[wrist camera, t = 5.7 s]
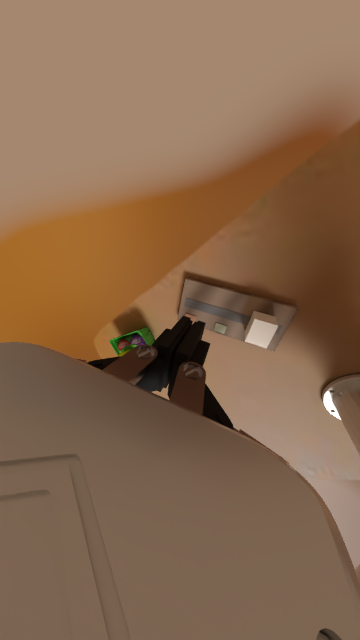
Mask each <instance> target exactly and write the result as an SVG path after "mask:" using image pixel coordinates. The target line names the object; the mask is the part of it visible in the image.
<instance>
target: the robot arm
mask: <svg viewBox="0 0 360 640" xmlns="http://www.w3.org/2000/svg"><path fill="white" fill-rule="evenodd" d="M192 323H193V321H192V320H191V318H189V317H186V316H182V317H181V319H180V320H179V321H178V322H177V323H176V325H175V326H174V327H173V328H172V329H171V330H170V329H165V331H164V332H163V333H162V334H161V335H160V336H159V337H158V338H157V339H156V340H155V342H154V343H153V344H152V345H151V346H150V345H146V344H144V345H138V346H136V347H134V348H133V349H131V350H130V351H128V352H127V353H126V354H124V355H123V356H120V357H113V358H107V359H100V360H94V361H90V362H88V363H87V361H86V360H81V359H76V358H72V357H70V356H68V355H65V354H63V353H61V352H58V351H55V350H53V349H50V348H47V347H44V346H40V345H36V344H30V343H21V342H6V343H0V640H360V565H358V566H357V567H356V568H355V569H354V566H353V564H352V561H351V558H350V556H349V553H348V551H347V548H346V546H345V543H344V541H343V538H342V536H341V533H340V531H339V529H338V527H337V524H336V522H335V520H334V518H333V516H332V514H331V512H330V510H329V509H328V507H327V505H326V504H325V502H324V501H323V499H322V498H321V497H320V495H319V494H318V493H317V491H316V490H315V489H314V488H313V487H312V486H311V485H310V483H308V481H307V480H306V479H305V478H304V477H303V476H302V475H301V474H300V473H298V472H297V471H296V470H295V469H294V468H293V467H291V466H290V465H289V463H288V462H287V461H285V460H284V459H283V458H282V457H280V456H279V455H278V454H276V453H275V452H273V451H272V450H270V449H269V448H267V447H266V446H264V445H263V444H261V443H260V442H259V441H257V440H256V439H254V438H253V437H251V436H250V435H248V434H247V433H245V432H244V431H242V430H241V429H240V430H239V431H238V430H237V429H235V428H234V427H233V424H232V423H231V421H230V419H229V417H228V416H227V415H226V413H225V412H224V410H223V409H222V407H221V406H220V404H219V403H218V401H217V400H216V398H215V397H214V395H213V394H212V392H211V391H210V389H209V388H208V387H207V385H206V384H205V380H206V372H205V370H204V368H203V364H204V362H205V359H206V356H207V352H208V349H209V346H210V343H208V342H205V341H202V340H201V339H202V335H203V331H204V328H205V324H206V323H205V322H202V321H199V320H198V322H194V323H193V325H192ZM168 384H169V386H168ZM167 386H168V389H169V390H168V397H169V399H170V401H169V400H167V399H165V398H163V397H161V396H158V395H156V394H154V393H152V391H156V390H157V391H159V392H161V390H162V389H163V387H164V388H166V387H167ZM322 401H323V403H324V406H325V407H326V409H327V410H328V411H329V412H330V413H331V414H332V415H334V416H335V417H337V418H339V419H341V421H342V422H343V424H344V426H345V428H346V430H347V432H348V434H349V436H350V438H351V440H352V442H353V443H354V445H355V447H356V449H357V451H358V453H359V455H360V374H355V375H348V376H344V377H341V378H338V379H336V380H334V381H332V382H331V383H329V384H328V385H327V386H326V387H325V389H324V390H323V393H322Z"/></svg>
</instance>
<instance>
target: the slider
mask: <svg viewBox="0 0 360 640" xmlns="http://www.w3.org/2000/svg"><path fill="white" fill-rule="evenodd" d="M277 328H278V323H277V320H276V318H275V317H274V316H271V315H267V314H264V313H260V312H257V311H253V314H252V316H251V318H250V321H249V323H248V325H247V328H246V330H245V342H248V343H251V344H254V345H257V346H260V347H263V348H266V349H267V347H268V345H269V343H270V341H271V339H272V337H273V335H274V333H275V332H276V330H277Z"/></svg>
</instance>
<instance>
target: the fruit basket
mask: <svg viewBox="0 0 360 640" xmlns="http://www.w3.org/2000/svg"><path fill="white" fill-rule="evenodd" d="M154 342H155V340H154V338H153V336H152V334H151V332H150V331H149V329H148V327H145V328H143V329H140V330H137V331H134V332H131V333H128V334H125V335H122V336H120V337H117V338H114V339H111V340H110V344H111V345H112V347H113V348H114V350H115V352H116V353H117V355H118V357H120V356H123V355H124V354H126V353H127V352H128V351H130V350H131V349H133V348H134V347H136V346H138V345H144V344H146V345H150V346H151V345H152V344H153V343H154Z"/></svg>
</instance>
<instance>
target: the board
mask: <svg viewBox="0 0 360 640" xmlns="http://www.w3.org/2000/svg"><path fill="white" fill-rule="evenodd" d="M297 310H298V308H297V307H296V306H293V305H290V304H286V303H282V302H278V301H275V300H271V299H267V298H263V297H259V296H256V295H252V294H248V293H244V292H241V291H237V290H233V289H229V288H225V287H222V286H218V285H214V284H210V283H206V282H203V281H199V280H195V279H191V278H188V277H187V278H186V279H185V283H184V288H183V293H182V299H181V304H180V309H179V315H178V320H180V319H181V317H182V316H186V317H189V318H191V320H192V321H193V323H194V322H198V320H199V321H202V322H205V323H206V324H205V328H204V329H207V330H210V331H213V332H216V333H219V334H222V335H225V336H228V337H231V338H235V339H238V340H241V341H244V342H245V330H246V328H247V325H248V323H249V321H250V318H251V316H252V314H253V311H257V312H260V313H264V314H267V315H271V316H274V317H275V318H276V320H277V323H278V328H277V330H276V332H275V333H274V335H273V337H272V339H271V341H270V343H269V345H268V347H267V349H268V350H271V351H275V350H276V348H277V346H278V344H279V342H280V341H281V339H282V337H283V335H284V333H285V332H286V330H287V328H288V326H289V325H290V323H291V321H292V319H293V317H294V316H295V314H296V312H297ZM193 323H192V325H193ZM247 343H248V342H247ZM250 344H251V343H250ZM253 345H254V344H253ZM256 346H257V345H256ZM259 347H260V346H259ZM262 348H263V347H262ZM265 349H266V348H265Z"/></svg>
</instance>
